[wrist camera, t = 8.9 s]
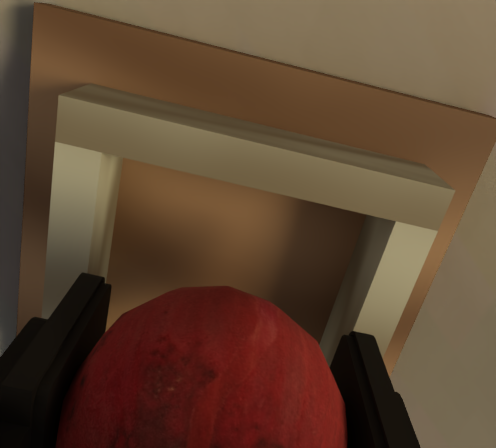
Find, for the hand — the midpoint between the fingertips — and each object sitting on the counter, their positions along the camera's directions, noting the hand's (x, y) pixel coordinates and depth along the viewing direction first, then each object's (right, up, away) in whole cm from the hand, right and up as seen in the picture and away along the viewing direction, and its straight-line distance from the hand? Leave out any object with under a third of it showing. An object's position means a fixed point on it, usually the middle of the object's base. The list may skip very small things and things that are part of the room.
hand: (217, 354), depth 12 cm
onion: (0, +1, +1) cm, 2 cm away
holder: (0, +2, +5) cm, 6 cm away
